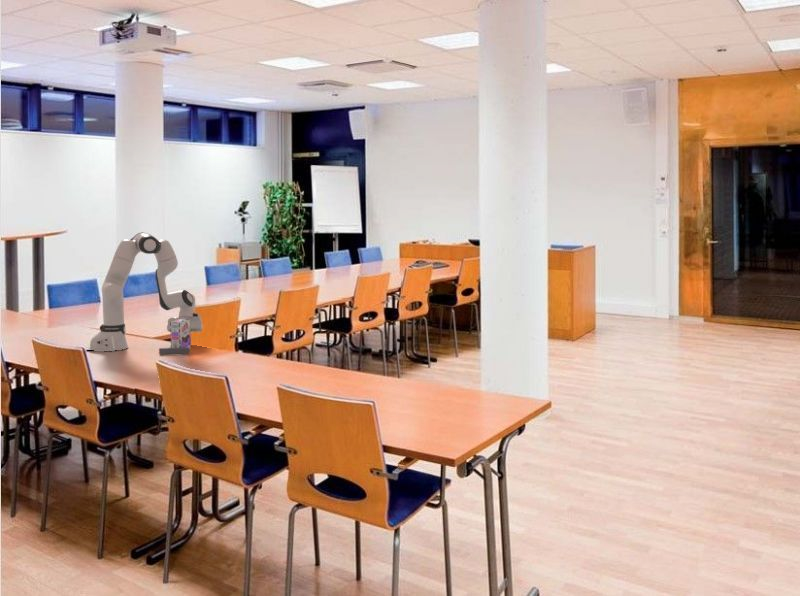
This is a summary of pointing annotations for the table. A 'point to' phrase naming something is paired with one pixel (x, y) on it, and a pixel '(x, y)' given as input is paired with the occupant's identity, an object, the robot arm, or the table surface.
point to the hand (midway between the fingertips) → (183, 336)
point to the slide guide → (175, 350)
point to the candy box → (180, 333)
